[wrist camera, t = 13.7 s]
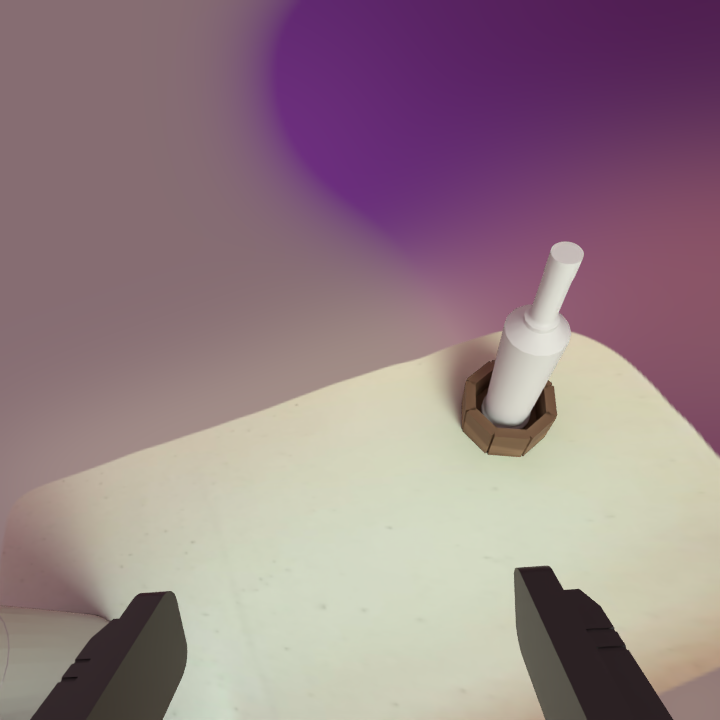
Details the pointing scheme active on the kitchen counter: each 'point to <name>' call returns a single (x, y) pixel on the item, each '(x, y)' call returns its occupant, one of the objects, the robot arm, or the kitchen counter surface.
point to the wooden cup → (504, 438)
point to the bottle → (532, 343)
